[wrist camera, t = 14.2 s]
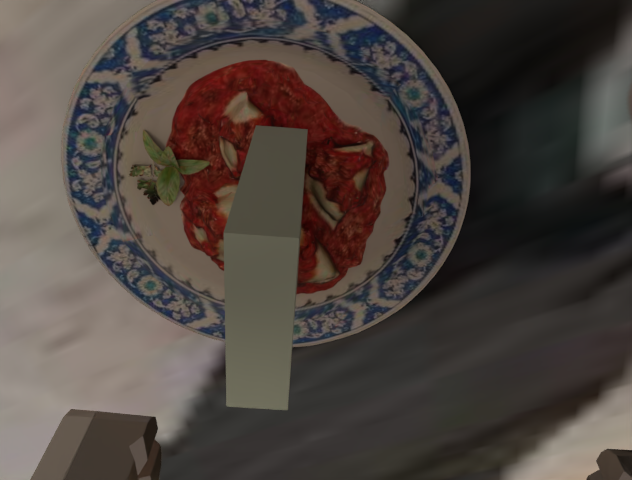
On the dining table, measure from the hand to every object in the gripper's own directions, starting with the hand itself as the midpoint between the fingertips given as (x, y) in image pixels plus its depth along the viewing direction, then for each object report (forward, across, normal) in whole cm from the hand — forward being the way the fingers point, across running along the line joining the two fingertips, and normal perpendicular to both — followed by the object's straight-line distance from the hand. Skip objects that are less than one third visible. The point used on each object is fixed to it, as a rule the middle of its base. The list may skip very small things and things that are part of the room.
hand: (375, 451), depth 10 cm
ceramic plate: (+27, +5, +9) cm, 29 cm away
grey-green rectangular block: (+24, +4, +8) cm, 26 cm away
